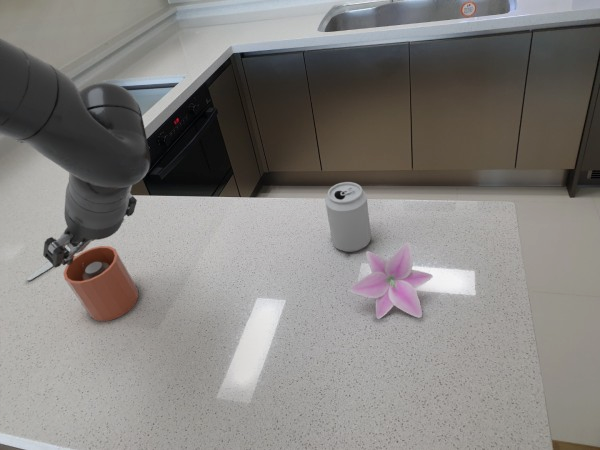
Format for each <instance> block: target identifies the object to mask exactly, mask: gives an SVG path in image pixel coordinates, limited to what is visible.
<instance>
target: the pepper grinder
mask: <svg viewBox="0 0 600 450" xmlns="http://www.w3.org/2000/svg"><path fill="white" fill-rule="evenodd" d="M108 268H109V264H108V263H105V262H94V263H91V264H90V265H88V266H87V267H86V269H85V272H84V273H83V279H84V280H88V279H91V278H93V277H96V276H98V275H100V274H101V273H102V272H104V271H105V270H106V269H108Z"/></svg>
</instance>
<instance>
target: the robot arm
mask: <svg viewBox="0 0 600 450" xmlns="http://www.w3.org/2000/svg"><path fill="white" fill-rule="evenodd" d="M140 107H141V106H140V104H139V102H138V101H137V99H136V98H135V96H134V95H133V93H131V92H130V91H129V90H127V89H126V88H125V87H123V86H121V85H119V84H116V83H112V82H103V81H101V82H99V81H98V82H93V83H90V84H88V85H86V86H84V87H81V89H79V88H78V86H77V85H76V83H75V82H74V80H73V79H72V78H71V77H70V76H69V75H67V74H66V73H65V72H63V71H62V70H61V69H59V68H57V67H56V66H54V65H52V64H50V63H49V62H47V61H44V60H43V59H41V58H39V57H38V56H36V55H34V54H33V53H30V52H28V51H26V50H25V49H23V48H21V47H20V46H18V45H16V44H14V43H12V42H10V41H8V40H7V39H4V38H3V37H1V36H0V135H1V136H4V137H7V138H10V139H12V140H15V141H19V142H22V143H24V144H27V145H29V146H30V147H31V148H33V149H34V150H35V151H37V152H38V153H39V154H40V155H42V156H43V157H45V158H46V159H48V160H49V161H51V162H52V163H54V164H55V165H57V166H58V167H60V168H62V169H63V170H65V171H66V172H67V173H68V182H67V184H66V189H65V194H64V195H65V196H64V198H65V199H64V213H63V214H64V220H65V224H66V228H65V230H64V231H63V233H61V235H60V237H59V238H58V239H56V238H54V237H53V236H50V237H48V238H46V239H45V241H44V243H43V244H44V245H43V252H42V253H43V255H42V256H43V257H44V258H45V259H46V260H47V261H50V262H51V263H52V265H53V267H54V269H56V268H59V267H60V266H61V265H62V266H65V265H66V266H67V265H70V264H72V263H73V257H74V256H76V254H78V253H79V254H80V253H82V252H84V250H85V249H86V248H87V247H88V245H89V244H91V242H93V241H95V240H97V241H98V240H99V241H100V240H104V239H107V238H109V237H111V236H113V235H114V234H116V232H118V231H119V229H120V228H121V226H122V224H123V223H124V221H125V217H126V216H127V217H130V216H133V214H134V213H135V209H136V206H137V203H138V200H137V198H135V197H134V195H133V194H132V193H131V191H132V188H133V185H136V184H137V183H139V182H141V180H142V179H144V178H145V177H146V175H147V173H148V172H149V171H150V167H151V150H150V147H149V142H148V138H147V133H146V129H145V123H144V119H143V114H142V109H141V108H140ZM78 242H79V243H78ZM67 246H68V247H69V248H70V252H69V251H68V250H67V249H66V247H67Z"/></svg>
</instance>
